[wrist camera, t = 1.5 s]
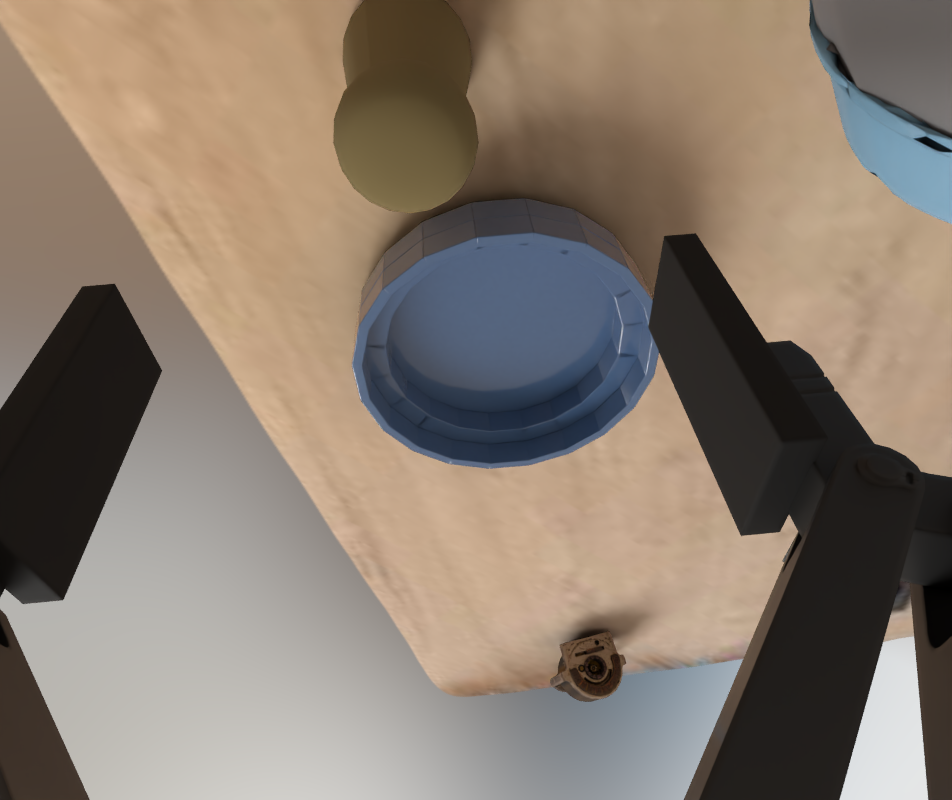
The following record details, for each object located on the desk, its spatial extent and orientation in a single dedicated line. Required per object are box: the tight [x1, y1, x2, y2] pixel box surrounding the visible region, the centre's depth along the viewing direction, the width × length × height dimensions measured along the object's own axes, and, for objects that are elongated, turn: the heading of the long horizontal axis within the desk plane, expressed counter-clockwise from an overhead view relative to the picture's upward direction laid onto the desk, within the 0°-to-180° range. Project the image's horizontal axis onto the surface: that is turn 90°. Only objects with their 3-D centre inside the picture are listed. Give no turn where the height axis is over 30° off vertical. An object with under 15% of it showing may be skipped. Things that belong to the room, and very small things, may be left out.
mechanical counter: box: [550, 631, 626, 702], centre depth 74 cm, size 7×13×10 cm
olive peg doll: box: [333, 0, 478, 213], centre depth 25 cm, size 6×6×11 cm
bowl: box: [352, 198, 659, 469], centre depth 39 cm, size 18×18×4 cm
